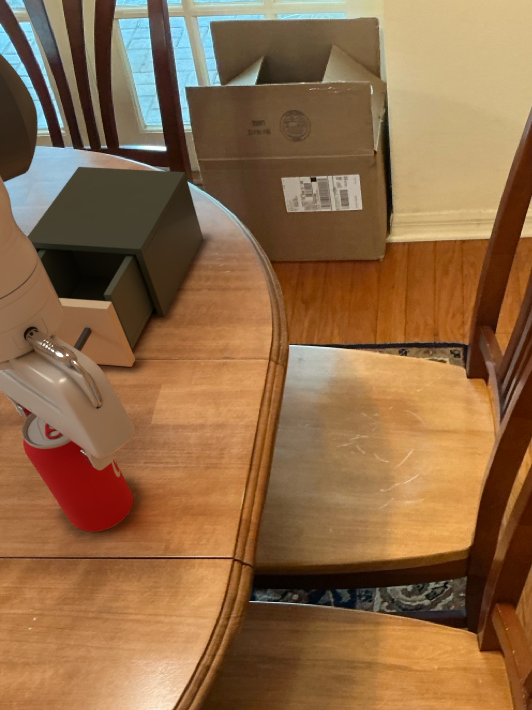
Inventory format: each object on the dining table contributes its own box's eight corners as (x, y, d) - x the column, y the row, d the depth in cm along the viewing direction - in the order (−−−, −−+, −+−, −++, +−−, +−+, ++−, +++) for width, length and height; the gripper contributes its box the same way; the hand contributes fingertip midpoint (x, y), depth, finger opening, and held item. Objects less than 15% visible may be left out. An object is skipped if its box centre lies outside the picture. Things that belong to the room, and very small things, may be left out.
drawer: (115, 397, 82) (89, 340, 76) (8, 388, 84) (-27, 331, 77) (173, 285, 93) (154, 227, 87) (77, 279, 95) (51, 221, 88)
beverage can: (131, 478, 77) (87, 390, 67) (139, 525, 73) (93, 439, 64) (68, 495, 76) (13, 408, 66) (72, 543, 72) (16, 459, 63)
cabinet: (165, 320, 91) (140, 248, 83) (58, 312, 92) (23, 241, 85) (204, 243, 100) (185, 171, 92) (105, 237, 101) (78, 166, 94)
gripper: (119, 338, 53) (174, 469, 64) (-48, 237, 61) (27, 370, 72) (43, 389, 50) (115, 518, 61) (-122, 277, 58) (-31, 409, 69)
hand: (67, 437), depth 67 cm, fingers open, 8 cm apart
